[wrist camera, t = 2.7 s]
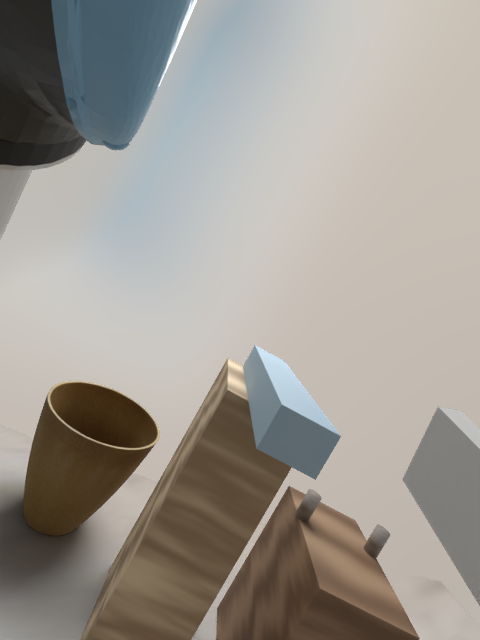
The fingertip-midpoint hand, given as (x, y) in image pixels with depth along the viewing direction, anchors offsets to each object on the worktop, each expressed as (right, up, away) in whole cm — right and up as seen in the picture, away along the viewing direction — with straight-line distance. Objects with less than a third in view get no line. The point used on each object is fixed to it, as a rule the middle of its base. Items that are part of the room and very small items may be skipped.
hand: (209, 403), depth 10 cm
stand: (-11, -31, +29) cm, 44 cm away
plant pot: (-24, -24, +38) cm, 50 cm away
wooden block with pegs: (+3, -39, +30) cm, 49 cm away
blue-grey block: (+3, -5, +22) cm, 23 cm away
